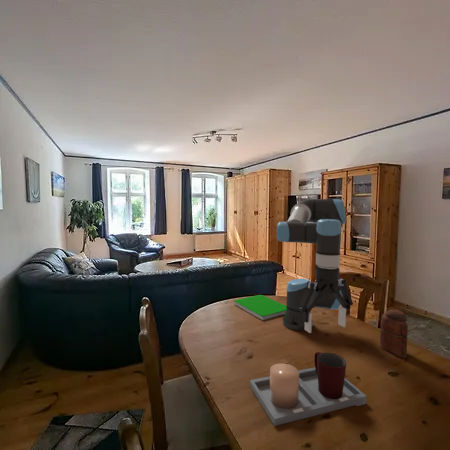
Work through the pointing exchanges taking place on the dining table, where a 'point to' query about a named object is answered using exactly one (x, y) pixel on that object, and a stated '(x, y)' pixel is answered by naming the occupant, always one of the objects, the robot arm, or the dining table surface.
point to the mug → (330, 374)
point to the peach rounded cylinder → (284, 386)
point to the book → (261, 306)
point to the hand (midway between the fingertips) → (325, 328)
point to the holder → (305, 398)
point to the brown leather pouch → (394, 333)
